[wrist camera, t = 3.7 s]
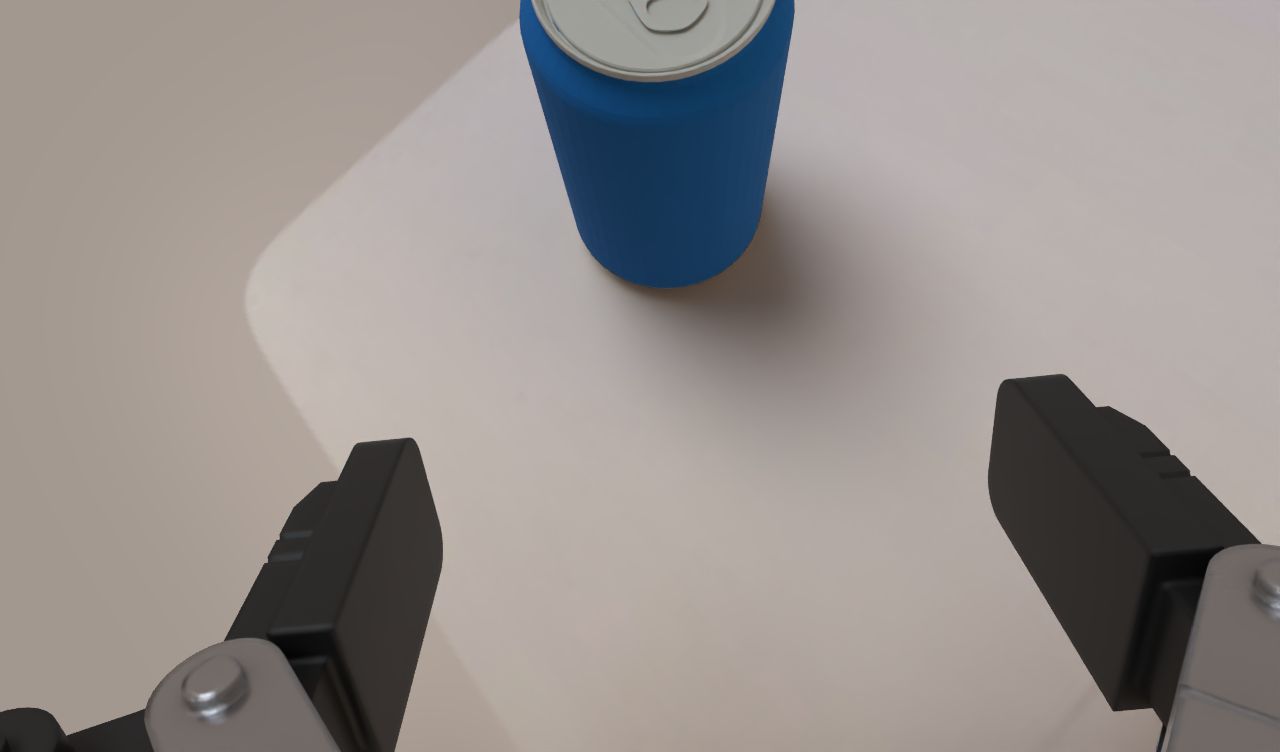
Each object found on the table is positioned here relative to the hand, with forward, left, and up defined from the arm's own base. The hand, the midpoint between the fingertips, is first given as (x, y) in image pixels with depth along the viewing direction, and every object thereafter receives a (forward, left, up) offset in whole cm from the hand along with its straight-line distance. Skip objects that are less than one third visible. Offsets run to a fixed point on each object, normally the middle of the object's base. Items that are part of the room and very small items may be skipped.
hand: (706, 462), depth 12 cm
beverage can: (-8, +9, -16) cm, 20 cm away
